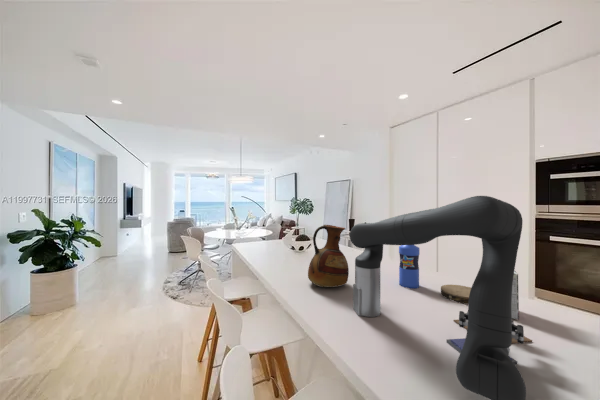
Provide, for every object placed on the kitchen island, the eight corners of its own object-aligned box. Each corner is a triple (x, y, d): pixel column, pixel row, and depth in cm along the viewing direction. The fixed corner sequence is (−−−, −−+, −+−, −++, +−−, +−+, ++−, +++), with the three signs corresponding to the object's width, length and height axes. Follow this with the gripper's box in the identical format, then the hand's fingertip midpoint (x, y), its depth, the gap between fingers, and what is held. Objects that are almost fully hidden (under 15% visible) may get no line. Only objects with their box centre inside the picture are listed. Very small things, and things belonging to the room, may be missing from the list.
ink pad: (477, 367, 60) (477, 362, 60) (446, 342, 71) (446, 338, 71) (517, 364, 61) (517, 359, 61) (480, 340, 72) (480, 336, 72)
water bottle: (401, 281, 127) (401, 233, 127) (421, 284, 121) (421, 234, 121) (396, 286, 119) (396, 235, 119) (417, 290, 114) (417, 237, 114)
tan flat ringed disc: (451, 288, 117) (451, 282, 117) (491, 300, 103) (491, 293, 103) (433, 295, 109) (433, 288, 109) (473, 308, 95) (473, 300, 95)
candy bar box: (496, 305, 97) (495, 264, 97) (512, 308, 94) (512, 266, 94) (501, 317, 87) (500, 271, 87) (519, 320, 85) (519, 273, 85)
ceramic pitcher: (352, 292, 111) (352, 226, 111) (308, 291, 111) (308, 226, 111) (344, 278, 130) (345, 223, 131) (307, 278, 131) (307, 222, 131)
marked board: (489, 344, 70) (489, 342, 70) (453, 321, 84) (453, 319, 84) (532, 342, 71) (532, 340, 71) (489, 319, 85) (489, 317, 85)
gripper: (528, 334, 56) (521, 310, 68) (455, 316, 64) (461, 297, 77) (528, 367, 56) (521, 337, 68) (455, 344, 64) (461, 321, 77)
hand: (489, 316), depth 73 cm, fingers open, 8 cm apart
